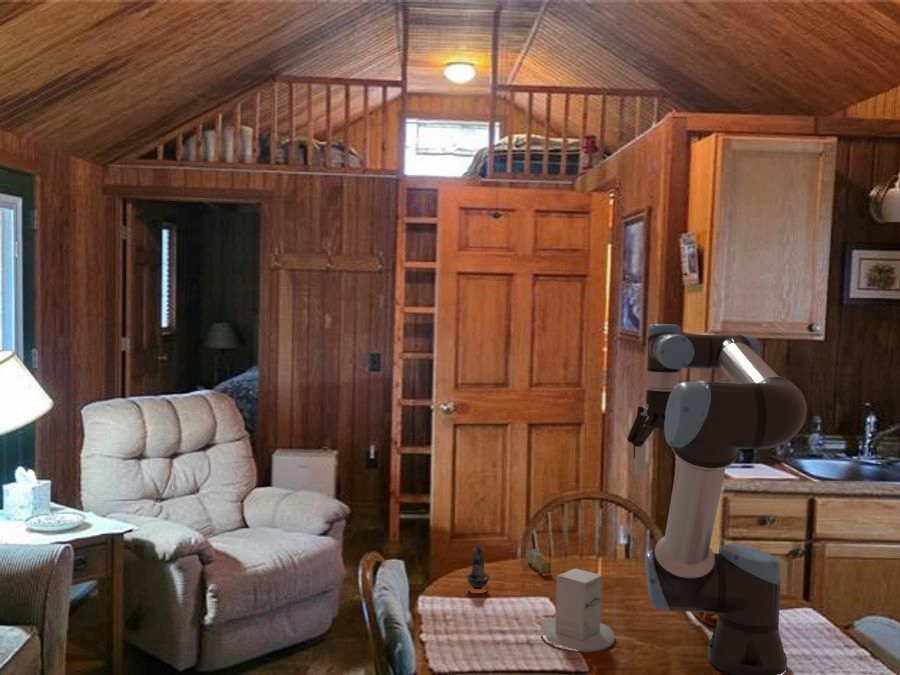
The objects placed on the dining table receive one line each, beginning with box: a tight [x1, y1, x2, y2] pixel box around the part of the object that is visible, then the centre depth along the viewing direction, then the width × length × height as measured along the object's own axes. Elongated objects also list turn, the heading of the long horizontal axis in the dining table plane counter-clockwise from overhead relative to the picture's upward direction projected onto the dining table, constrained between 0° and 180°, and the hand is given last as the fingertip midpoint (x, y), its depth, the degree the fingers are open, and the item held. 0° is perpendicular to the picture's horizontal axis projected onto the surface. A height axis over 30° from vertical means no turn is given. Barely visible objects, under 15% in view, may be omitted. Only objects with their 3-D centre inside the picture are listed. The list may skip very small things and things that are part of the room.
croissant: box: [692, 612, 718, 627], centre depth 189 cm, size 21×10×8 cm, turn 169°
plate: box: [540, 618, 615, 653], centre depth 174 cm, size 16×16×1 cm
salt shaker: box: [466, 543, 490, 589], centre depth 201 cm, size 6×6×12 cm
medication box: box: [527, 548, 552, 575], centre depth 219 cm, size 12×3×4 cm, turn 14°
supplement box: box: [555, 568, 603, 641], centre depth 174 cm, size 7×7×13 cm
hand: (660, 478), depth 189 cm, fingers open, 13 cm apart
